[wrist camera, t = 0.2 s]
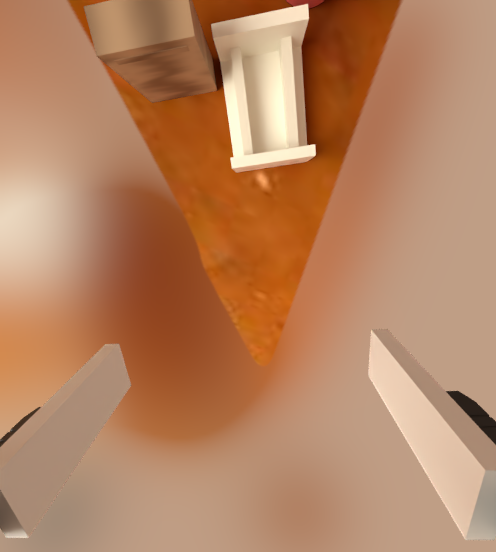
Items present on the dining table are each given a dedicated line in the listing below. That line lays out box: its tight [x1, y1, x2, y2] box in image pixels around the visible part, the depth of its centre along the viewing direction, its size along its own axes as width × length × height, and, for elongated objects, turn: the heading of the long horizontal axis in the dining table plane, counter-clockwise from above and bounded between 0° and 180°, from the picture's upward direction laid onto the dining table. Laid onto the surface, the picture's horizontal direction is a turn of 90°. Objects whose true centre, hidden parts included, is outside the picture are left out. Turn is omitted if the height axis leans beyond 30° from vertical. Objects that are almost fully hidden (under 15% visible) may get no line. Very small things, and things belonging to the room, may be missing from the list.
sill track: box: [211, 4, 316, 173], centre depth 30 cm, size 14×10×6 cm
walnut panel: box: [84, 0, 217, 103], centre depth 27 cm, size 9×4×12 cm, turn 98°
